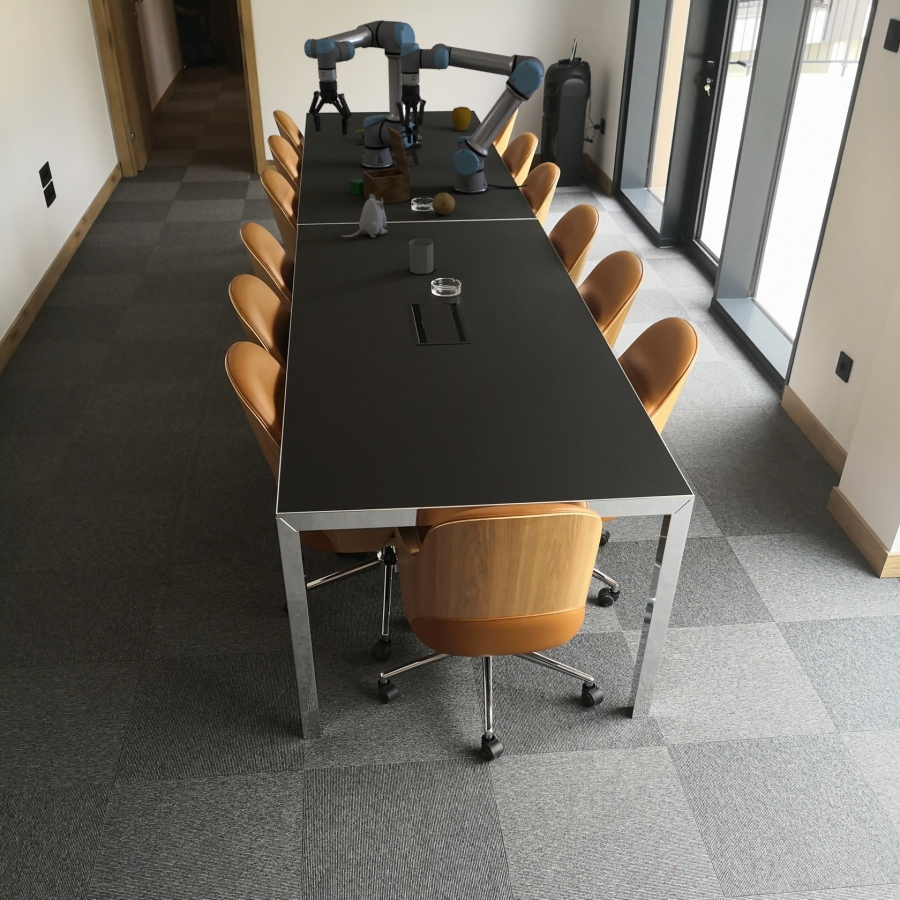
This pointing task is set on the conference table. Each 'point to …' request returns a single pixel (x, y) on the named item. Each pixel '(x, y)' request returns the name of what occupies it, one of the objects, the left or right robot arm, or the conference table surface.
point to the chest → (387, 185)
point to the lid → (400, 147)
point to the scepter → (362, 137)
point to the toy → (372, 218)
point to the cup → (421, 256)
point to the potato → (443, 203)
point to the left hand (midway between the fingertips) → (331, 132)
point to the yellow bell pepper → (461, 118)
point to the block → (357, 187)
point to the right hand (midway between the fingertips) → (412, 142)
